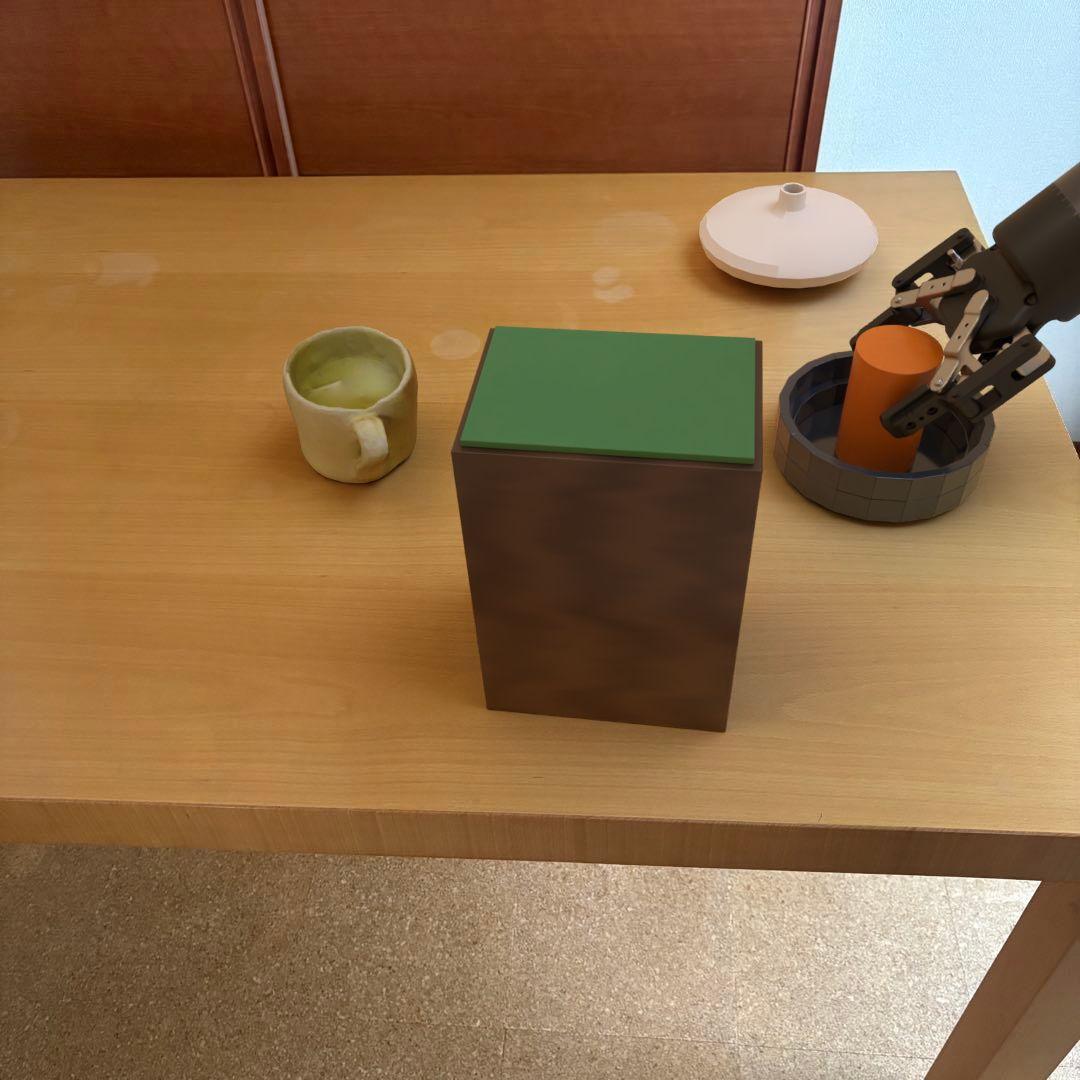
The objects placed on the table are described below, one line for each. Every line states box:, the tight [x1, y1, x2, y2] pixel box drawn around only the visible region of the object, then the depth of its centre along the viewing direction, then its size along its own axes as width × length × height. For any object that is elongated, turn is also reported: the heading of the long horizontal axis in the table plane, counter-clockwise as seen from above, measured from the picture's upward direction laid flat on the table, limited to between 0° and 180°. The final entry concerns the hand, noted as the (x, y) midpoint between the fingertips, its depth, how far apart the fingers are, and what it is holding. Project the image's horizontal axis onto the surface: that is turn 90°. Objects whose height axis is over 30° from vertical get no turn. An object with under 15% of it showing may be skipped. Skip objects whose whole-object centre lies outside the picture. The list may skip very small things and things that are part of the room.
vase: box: [698, 182, 880, 289], centre depth 92 cm, size 16×16×7 cm
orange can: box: [835, 325, 944, 473], centre depth 72 cm, size 6×6×9 cm
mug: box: [282, 325, 419, 484], centre depth 75 cm, size 12×10×10 cm
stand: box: [450, 327, 764, 733], centre depth 57 cm, size 14×10×20 cm
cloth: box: [460, 325, 756, 464], centre depth 50 cm, size 13×9×1 cm
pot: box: [772, 349, 996, 523], centre depth 74 cm, size 14×14×4 cm
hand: (871, 389), depth 71 cm, fingers open, 8 cm apart
